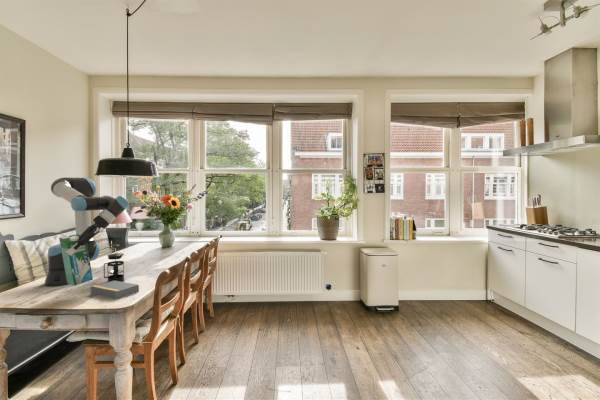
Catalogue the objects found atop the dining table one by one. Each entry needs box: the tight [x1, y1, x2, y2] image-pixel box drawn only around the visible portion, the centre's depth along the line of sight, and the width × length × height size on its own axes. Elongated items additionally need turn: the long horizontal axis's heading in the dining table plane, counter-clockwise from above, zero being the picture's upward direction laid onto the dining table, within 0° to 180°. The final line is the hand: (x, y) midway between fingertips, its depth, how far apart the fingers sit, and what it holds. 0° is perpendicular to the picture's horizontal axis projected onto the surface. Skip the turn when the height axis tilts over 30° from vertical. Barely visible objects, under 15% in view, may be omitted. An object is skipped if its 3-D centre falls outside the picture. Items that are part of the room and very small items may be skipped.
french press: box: [103, 244, 125, 283], centre depth 205 cm, size 12×9×23 cm
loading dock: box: [90, 280, 140, 300], centre depth 184 cm, size 20×14×4 cm
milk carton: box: [59, 233, 94, 286], centre depth 177 cm, size 9×9×25 cm
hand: (68, 253), depth 170 cm, fingers closed on milk carton, 2 cm apart
